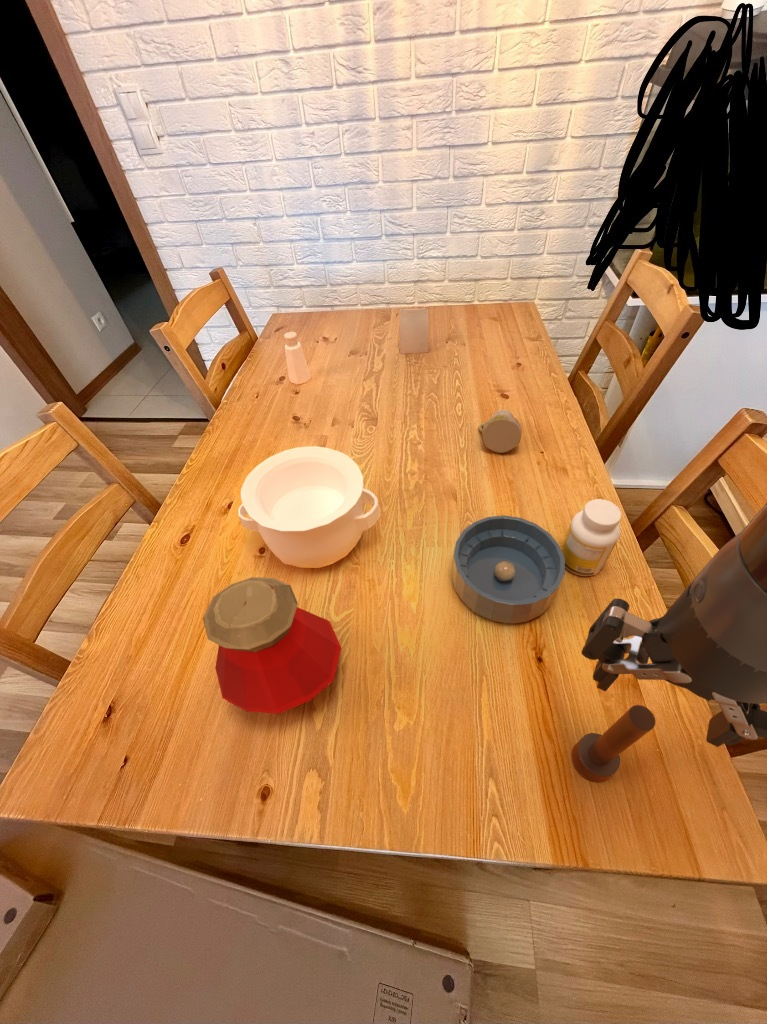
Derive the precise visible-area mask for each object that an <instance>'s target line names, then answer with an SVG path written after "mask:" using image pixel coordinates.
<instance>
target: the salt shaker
mask: <svg viewBox="0 0 767 1024" xmlns="http://www.w3.org/2000/svg"><path fill="white" fill-rule="evenodd" d="M283 338H284V340H285V344H284V355H285V361H286V368H287V369H286V370H287V375H288V380H289V383H290V384H293V385H302V384H303V385H304V384H307V383H308V382H309V381H310V380H311V379H312V375H311V372H310V369H309V365H308V362H307V360H306V357H305V353H304V349H303V347H302V344H301V342H300V341H299V340H298V334H297V333H296V332H295V331H288V332H286V333H284V335H283Z"/></svg>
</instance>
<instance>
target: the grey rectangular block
mask: <svg viewBox="0 0 767 1024" xmlns="http://www.w3.org/2000/svg"><path fill="white" fill-rule="evenodd" d="M398 313H399V314H398V316H399V318H398V319H399V347H400V348H399V349H400V354H403V355H405V354H424V353H426V354H427V353H429V327H430V326H429V323H430V321H429V319H430V318H429V316H430V315H429V308H428V307H425V308H405V309H399V310H398Z"/></svg>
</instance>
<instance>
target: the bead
mask: <svg viewBox="0 0 767 1024" xmlns="http://www.w3.org/2000/svg"><path fill="white" fill-rule="evenodd" d="M515 572H516V571H515V567H514V565H513V564H512V563H510V562H508V561H501V562H499V563H498V564H497V565H496V567H495V575H496V577H497V578H498V579H499V580H501V581H510V580H511V579H513V578H514V576H515Z"/></svg>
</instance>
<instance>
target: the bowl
mask: <svg viewBox="0 0 767 1024" xmlns="http://www.w3.org/2000/svg"><path fill="white" fill-rule="evenodd" d="M561 548H562V547H561V545H560V544H559V543H558V542H557V540H556V538H554V537H553V536H552V534H551V533H550V532H549V531H547V530H546V529H544V528H543V527H541V526H540V525H538V524H537V523H535V522H533V521H530V520H527V519H526V518H523V517H518V516H512V515H504V514H503V515H494V516H492V515H491V516H486V517H484V518H481V519H478V520H476V521H474V522H472V523H471V524H470V525H468V526H467V527H466V528H465V529H463V530H462V532H461V533H460V535H459V537H458V538H457V540H456V541H455V545H454V550H453V556H452V557H453V559H452V568H451V577H452V582H453V583H452V584H453V588H454V590H455V592H456V593H457V595H458V596H459V599H460V600H461V601H462V603H463V604H465V606H467V607H468V608H469V609H470V611H472V612H474V613H475V614H477V615H478V616H481V617H484V618H486V619H488V620H490V621H493V622H499V623H503V624H517V623H518V624H520V623H527V622H529V621H530V620H534V619H536V618H538V617H540V616H541V615H543V614H544V613H545V612H546V611H547V610H548V609H549V608H550V607H551V606H552V605H553V602H554V599H555V598H556V595H557V592H558V590H559V588H560V587H561V583H562V581H563V579H564V576H565V574H566V567H565V558H564V556H563V553H562V551H561ZM501 561H508V562H510V563H512V564H513V565H514V567H515V571H516V572H515V576H514V578H513V579H511V580H510V581H501V580H499V579H498V578H497V577H496V575H495V567H496V565H497V564H498V563H499V562H501Z"/></svg>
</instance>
